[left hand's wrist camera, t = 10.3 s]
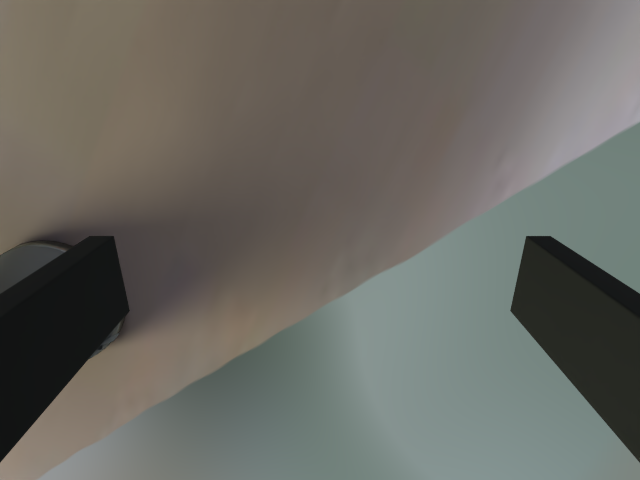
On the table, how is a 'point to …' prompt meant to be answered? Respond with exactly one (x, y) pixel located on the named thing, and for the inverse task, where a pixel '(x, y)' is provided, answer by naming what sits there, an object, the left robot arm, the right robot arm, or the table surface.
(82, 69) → the table surface
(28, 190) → the table surface
